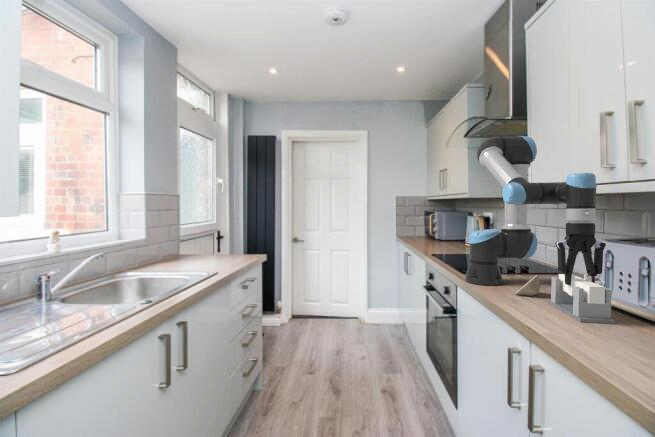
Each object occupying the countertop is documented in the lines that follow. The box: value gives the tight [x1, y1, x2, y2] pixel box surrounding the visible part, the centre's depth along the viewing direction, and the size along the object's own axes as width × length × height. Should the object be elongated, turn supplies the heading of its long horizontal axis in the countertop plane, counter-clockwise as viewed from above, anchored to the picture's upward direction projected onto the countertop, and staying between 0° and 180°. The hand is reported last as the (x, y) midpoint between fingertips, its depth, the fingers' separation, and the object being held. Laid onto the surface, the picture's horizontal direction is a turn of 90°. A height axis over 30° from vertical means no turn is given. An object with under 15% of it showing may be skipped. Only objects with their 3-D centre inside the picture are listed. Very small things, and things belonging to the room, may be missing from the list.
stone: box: [514, 274, 541, 297], centre depth 128 cm, size 10×7×10 cm
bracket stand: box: [547, 276, 616, 325], centre depth 107 cm, size 20×9×10 cm, turn 170°
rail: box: [558, 273, 606, 304], centre depth 106 cm, size 18×4×5 cm, turn 170°
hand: (579, 295), depth 106 cm, fingers closed on rail, 4 cm apart
